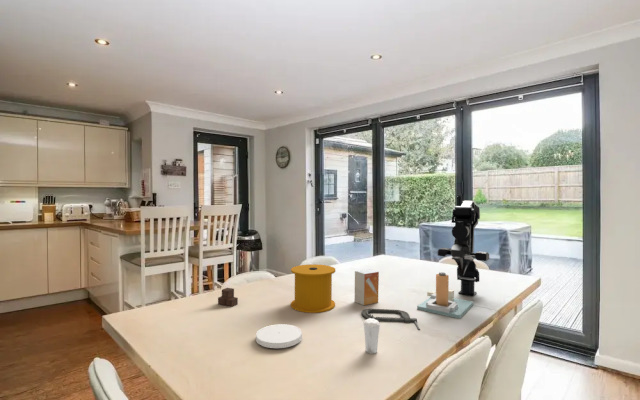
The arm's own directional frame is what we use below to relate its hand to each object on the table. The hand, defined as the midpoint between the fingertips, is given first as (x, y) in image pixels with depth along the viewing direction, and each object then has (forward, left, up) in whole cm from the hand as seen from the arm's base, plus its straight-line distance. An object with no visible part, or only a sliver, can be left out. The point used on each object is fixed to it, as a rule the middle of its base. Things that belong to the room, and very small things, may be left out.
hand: (462, 275), depth 136 cm
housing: (+6, -5, -12) cm, 15 cm away
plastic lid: (+70, -35, -13) cm, 79 cm away
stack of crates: (+58, -76, -13) cm, 96 cm away
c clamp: (+32, -17, -13) cm, 39 cm away
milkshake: (+59, -10, -13) cm, 61 cm away
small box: (+21, -33, -13) cm, 41 cm away
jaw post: (+11, -5, -11) cm, 16 cm away
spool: (+38, -48, -13) cm, 62 cm away
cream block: (0, -9, -11) cm, 14 cm away
